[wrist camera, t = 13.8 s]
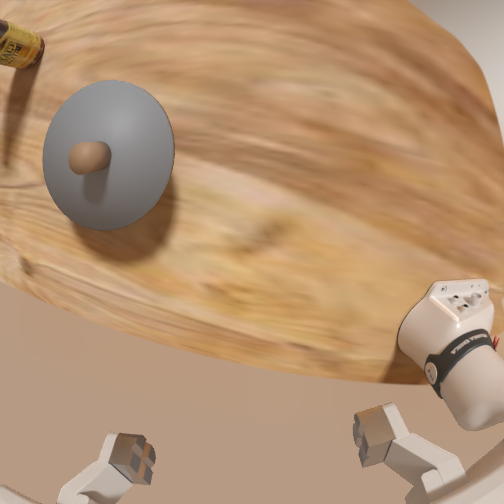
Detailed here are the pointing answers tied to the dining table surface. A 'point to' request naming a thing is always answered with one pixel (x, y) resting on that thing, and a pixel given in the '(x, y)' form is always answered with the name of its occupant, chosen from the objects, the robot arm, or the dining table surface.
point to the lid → (108, 155)
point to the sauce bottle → (19, 46)
